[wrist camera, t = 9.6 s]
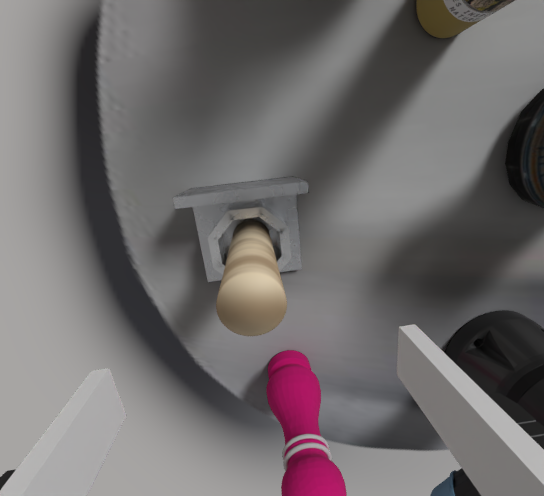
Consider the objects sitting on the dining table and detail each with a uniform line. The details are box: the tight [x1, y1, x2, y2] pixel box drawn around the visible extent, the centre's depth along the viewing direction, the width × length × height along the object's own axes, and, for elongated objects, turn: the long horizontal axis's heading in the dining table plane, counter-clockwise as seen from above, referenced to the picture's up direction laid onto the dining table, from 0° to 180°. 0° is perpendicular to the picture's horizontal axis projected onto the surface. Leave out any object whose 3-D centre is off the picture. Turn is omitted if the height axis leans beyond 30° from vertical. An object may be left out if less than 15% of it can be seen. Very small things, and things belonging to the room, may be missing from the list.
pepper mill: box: [266, 350, 346, 496], centre depth 31 cm, size 7×7×20 cm
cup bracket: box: [173, 176, 309, 282], centre depth 29 cm, size 12×12×8 cm
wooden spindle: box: [216, 219, 287, 336], centre depth 25 cm, size 4×4×16 cm
